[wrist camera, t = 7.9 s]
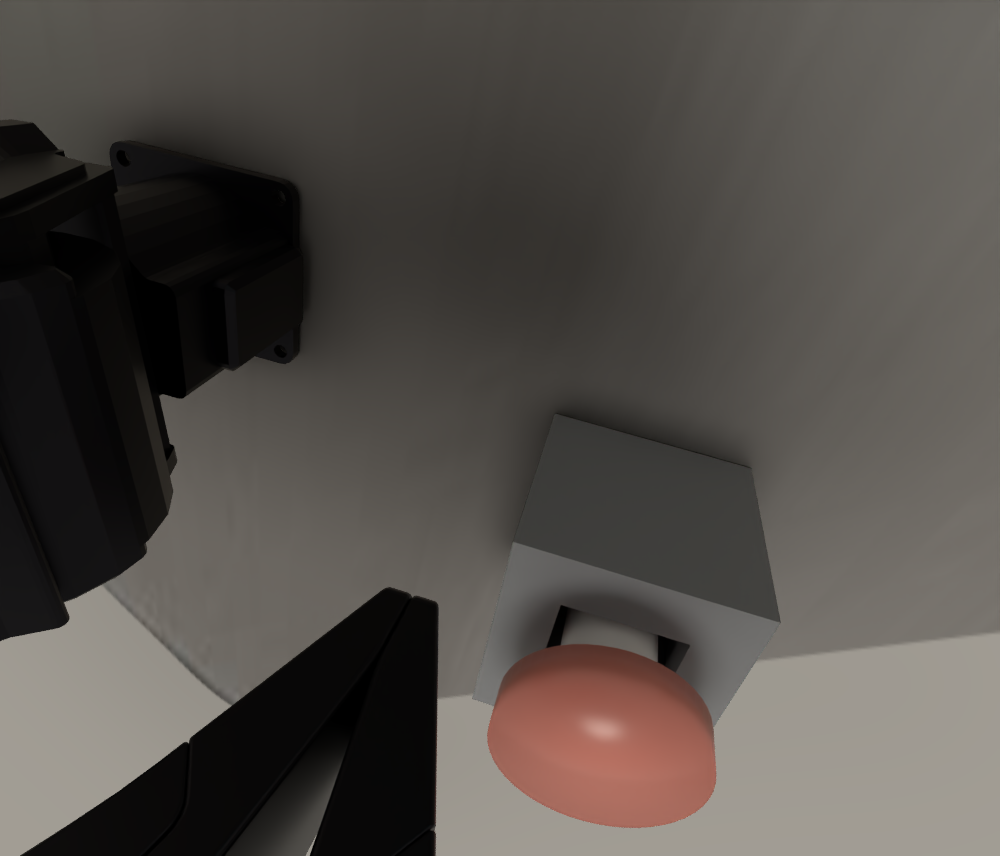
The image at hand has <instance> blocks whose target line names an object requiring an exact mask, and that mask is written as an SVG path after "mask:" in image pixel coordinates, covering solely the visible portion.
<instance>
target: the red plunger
mask: <svg viewBox="0 0 1000 856" xmlns="http://www.w3.org/2000/svg"><path fill="white" fill-rule="evenodd" d="M487 736H488V746H489V750H490V753H491V755H492V758H493V760H494V762H495V763H496V765H497V766H498V768H499V770H500V771H501V772H502V773H503V774H504V776H505V777H506V778H507V779H508V780H509V781H510V782H511V783H512V784H514V786H516V787H517V788H518V789H520V790H521V791H522V792H523V793H525V794H526V795H527V796H529V797H530V798H532V799H533V800H535V801H537V802H539V803H541V804H542V805H544V806H546V807H548V808H550V809H552V810H554V811H557V812H559V813H562V814H564V815H567V816H569V817H573V818H576V819H579V820H582V821H586V822H590V823H595V824H600V825H606V826H614V827H624V828H625V827H626V828H628V827H629V828H641V827H653V826H660V825H665V824H669V823H672V822H676V821H678V820H681V819H684V818H686V817H688V816H689V815H691V814H693V813H695V812H696V811H697V810H699V809H700V808H701V807H702V806H704V804H705V803H706V802H707V801H708V800H709V798H710V797H711V795H712V793H713V791H714V787H715V784H716V762H715V746H714V729H713V722H712V717H711V715H710V712H709V710H708V707H707V706H706V704H705V702H704V701H703V699H702V698H701V696H700V695H699V694H698V693H697V692H696V690H695V689H694V688H693V687H692V686H691V685H690V684H689V683H688V682H686V681H685V680H684V679H683V678H682V677H680V676H679V675H678V674H676V673H675V672H673V671H672V670H670V669H668V668H667V667H665V666H663V665H662V664H660V663H658V635H656V634H653V633H650V632H647V631H644V630H640V629H637V628H634V627H631V626H628V625H624V624H621V623H618V622H615V621H611V620H608V619H605V618H602V617H599V616H595V615H592V614H589V613H586V612H583V611H579V610H576V609H573V608H570V607H568V609H567V614H566V619H565V625H564V630H563V635H562V640H561V645H559V646H554V647H549V648H545V649H542V650H539V651H536V652H533V653H531V654H529V655H527V656H525V657H523V658H522V659H520V660H519V661H518V662H516V663H515V664H514V665H513V666H512V667H511V668H510V669H509V670H508V671H507V673H506V674H505V676H504V677H503V679H502V682H501V684H500V687H499V690H498V694H497V698H496V701H495V705H494V709H493V713H492V716H491V720H490V724H489V728H488V735H487Z"/></svg>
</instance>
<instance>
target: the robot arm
mask: <svg viewBox="0 0 1000 856" xmlns="http://www.w3.org/2000/svg"><path fill="white" fill-rule="evenodd" d="M125 152H126V153H127V154H128V155H129V157H130V160H131V161H130V163H129V161H128V160H127V159H126V156H125ZM110 160H111V166H112V167H109V166H104V165H97V164H91V163H85V162H82V161H78V160H75V159H71V158H67V157H65V154H64V150H59V149H58V148H57V147H56V146H55V145H54V144H53V143H52V142H51V141H50V140H49V139H48V138H47V137H46V136H45V135H44V134H43V133H42V131H41V130H40V129H39V128H38V127H37V126H36V125H35V124H34V123H31V122H24V121H18V120H1V121H0V641H1V640H4V639H7V638H10V637H15V636H20V635H25V634H30V633H35V632H41V631H46V630H50V629H55V628H60V627H62V626H63V625H65V624H66V623H67V622H68V621H69V614H68V612H67V609H66V607H65V604H64V602H66V601H69V600H72V599H75V598H77V597H79V596H81V595H83V594H84V593H87V592H88V591H90V590H92V589H94V588H96V587H98V586H100V585H102V584H104V583H106V582H108V581H110V580H112V579H114V578H116V577H117V576H119V575H120V574H121V573H123V572H124V571H125V570H127V569H128V568H129V567H131V566H132V565H133V564H135V563H136V562H137V561H139V560H140V559H142V558H143V557H144V555H145V554H146V553H147V547H146V542H147V541H148V540H149V539H150V538H151V536H152V535H153V534H154V532H155V531H156V530H157V528H158V527H159V526H160V524H161V523H162V522H163V520H164V519H165V518H166V516H167V515H168V512H169V508H170V503H171V499H172V495H173V488H172V484H171V479H170V475H171V473H172V471H173V469H174V467H175V465H176V463H177V458H176V453H175V449H174V446H173V445H171V444H170V443H169V438H168V434H167V429H166V425H165V420H164V416H163V411H162V407H161V402H160V398H159V396H160V395H162V394H165V395H168V396H172V397H175V398H182V399H183V398H184V397H185V396H187V395H188V394H190V393H191V392H192V391H194V390H195V389H197V388H198V387H200V386H201V385H202V384H204V383H205V382H207V381H208V380H210V379H211V378H212V377H214V376H215V375H217V374H218V373H219V372H221V371H222V370H224V369H228V370H231V371H234V370H236V369H237V368H239V367H240V366H242V365H243V364H244V363H246V362H247V361H249V360H250V359H251V358H253V357H254V356H256V357H260V358H263V359H267V360H270V361H274V362H277V363H282V364H286V363H289V362H291V361H292V360H293V359H294V358H295V357H296V356H297V355H298V351H299V324H300V323H301V322H302V320H303V255H302V254H301V252H300V250H299V196H298V192H297V190H296V188H295V187H294V186H293V185H292V184H291V183H290V182H289V181H286V180H284V179H280V178H276V177H272V176H268V175H264V174H260V173H256V172H252V171H248V170H244V169H240V168H236V167H232V166H229V165H225V164H221V163H217V162H213V161H209V160H205V159H201V158H197V157H193V156H189V155H185V154H181V153H177V152H173V151H169V150H165V149H161V148H157V147H153V146H149V145H145V144H141V143H137V142H133V141H119V142H115V143H114V144H112V146H111V148H110ZM278 190H280V191H282V193H283V194H284V195H285V199H286V201H285V204H284V203H282V202H281V201H280V200H279V198H278V194H277V193H278ZM280 345H281V346H283V347H284V348H285V349H286V351H287V353H285V352H283V351H282V350H281V348H280ZM438 613H439V609H438V604H437V602H435V601H432V600H429V599H426V598H423V597H420V596H414V597H413V598H412V596H411V595H410V594H409V593H407V592H404V591H401V590H398V589H395V588H391V587H388V588H385V589H383V590H382V591H380V592H379V593H378V594H376V595H375V596H374V597H373V598H371V599H370V600H369V601H367V602H366V603H365V604H363V605H362V606H361V607H360V608H358V609H357V610H356V611H354V612H353V613H352V614H350V615H349V616H348V617H347V618H345V619H344V620H343V621H341V622H340V623H339V624H337V625H336V626H335V627H334V628H332V629H331V630H330V631H328V632H327V633H326V634H324V635H323V636H322V637H321V638H319V639H318V640H317V641H315V642H314V643H313V644H311V645H310V646H309V647H308V648H306V649H305V650H304V651H302V652H301V653H300V654H298V655H297V656H296V657H295V658H293V659H292V660H291V661H289V662H288V663H287V664H286V665H284V666H283V667H282V668H280V669H279V670H278V671H276V672H275V673H274V674H273V675H271V676H270V677H269V678H267V679H266V680H265V681H263V682H262V683H261V684H260V685H258V686H257V687H256V688H254V689H253V690H252V691H250V692H249V693H248V694H247V695H245V696H244V697H243V698H241V699H240V700H239V701H237V702H236V703H235V704H234V705H232V706H231V707H230V708H228V709H227V710H226V711H224V712H223V713H222V714H221V715H219V716H218V717H217V718H215V719H214V720H213V721H211V722H210V723H209V724H208V725H206V726H205V727H204V728H203V729H201V730H200V731H199V732H197V733H196V734H195V735H193V736H192V737H191V738H190V740H189V743H187V742H184V743H183V744H181V745H180V746H179V747H177V748H176V749H175V750H173V751H172V752H171V753H170V754H168V755H167V756H166V757H164V758H163V759H162V760H161V761H159V762H158V763H157V764H155V765H154V766H152V767H151V768H150V769H148V770H147V771H146V772H144V773H143V774H142V775H140V776H139V777H137V778H136V779H135V780H133V781H132V782H131V783H129V784H128V785H127V786H125V787H124V788H123V789H121V790H120V791H119V792H117V793H115V794H114V795H113V796H111V797H109V798H108V799H106V800H105V801H104V802H102V803H100V804H99V805H97V806H96V807H94V808H93V809H92V810H90V811H88V812H87V813H85V814H84V815H83V816H81V817H79V818H78V819H77V820H75V821H73V822H72V823H70V824H69V825H67V826H66V827H64V828H63V829H61V830H59V831H58V832H57V833H55V834H54V835H52V836H50V837H49V838H47V839H46V840H44V841H43V842H41V843H39V844H38V845H36V846H35V847H33V848H31V849H30V850H28V851H27V852H25V853H24V854H22V855H20V856H305V855H306V853H307V852H308V849H309V848H310V846H311V844H312V842H313V840H314V838H315V836H316V834H317V836H316V839H315V842H314V845H313V848H312V851H311V853H310V856H435V854H436V852H435V851H436V850H435V849H436V834H435V832H434V830H435V826H436V762H437V760H436V759H437V688H438Z"/></svg>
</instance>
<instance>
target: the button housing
mask: <svg viewBox="0 0 1000 856" xmlns="http://www.w3.org/2000/svg"><path fill="white" fill-rule="evenodd" d="M568 607H570V608H573V609H576V610H579V611H583V612H586V613H589V614H592V615H595V616H599V617H602V618H605V619H608V620H611V621H615V622H618V623H621V624H624V625H628V626H631V627H634V628H637V629H640V630H644V631H647V632H650V633H653V634H656V635H658V663H660V664H662V665H663V666H665V667H667V668H668V669H670V670H672V671H673V672H675V673H676V674H678V675H679V676H680V677H682V678H683V679H684V680H685V681H686V682H688V683H689V684H690V685H691V686H692V687H693V688H694V689H695V690H696V692H697V693H698V694H699V695H700V696H701V698H702V699H703V701H704V702H705V704H706V706H707V707H708V710H709V712H710V715H711V717H712V722H713V727H714V726H715V724H716V723H717V721H718V720H719V718H720V717H721V715H722V713H723V712H724V710H725V709H726V707H727V706H728V704H729V703H730V701H731V699H732V698H733V696H734V695H735V693H736V692H737V690H738V689H739V687H740V685H741V684H742V682H743V681H744V679H745V678H746V676H747V675H748V673H749V672H750V670H751V668H752V667H753V665H754V664H755V662H756V661H757V659H758V658H759V656H760V654H761V653H762V651H763V650H764V648H765V647H766V645H767V644H768V642H769V640H770V639H771V637H772V636H773V634H774V633H775V631H776V630H777V628H778V627H779V625H780V623H781V622H780V616H779V611H778V606H777V601H776V595H775V590H774V585H773V580H772V575H771V569H770V564H769V559H768V554H767V549H766V543H765V538H764V533H763V528H762V522H761V517H760V512H759V507H758V502H757V496H756V491H755V486H754V481H753V475H752V470H751V468H748V467H745V466H741V465H737V464H734V463H730V462H727V461H723V460H720V459H716V458H712V457H709V456H705V455H702V454H698V453H695V452H691V451H687V450H684V449H680V448H677V447H673V446H670V445H666V444H662V443H659V442H655V441H652V440H648V439H644V438H641V437H637V436H634V435H630V434H627V433H623V432H619V431H616V430H612V429H609V428H605V427H602V426H598V425H594V424H591V423H587V422H584V421H580V420H577V419H573V418H569V417H566V416H562V415H559V414H554V418H553V421H552V424H551V427H550V430H549V433H548V436H547V439H546V442H545V445H544V448H543V451H542V454H541V457H540V461H539V464H538V467H537V470H536V473H535V476H534V479H533V482H532V485H531V488H530V491H529V494H528V497H527V500H526V503H525V507H524V510H523V513H522V516H521V519H520V522H519V525H518V528H517V531H516V534H515V537H514V540H513V544H512V548H511V551H510V555H509V559H508V563H507V567H506V571H505V574H504V578H503V582H502V586H501V590H500V594H499V597H498V601H497V605H496V609H495V613H494V617H493V621H492V624H491V628H490V632H489V636H488V640H487V644H486V647H485V651H484V655H483V659H482V663H481V667H480V670H479V674H478V678H477V682H476V686H475V690H474V693H473V697H472V699H474V700H478V701H481V702H483V703H487V704H489V705H492V706H494V705H495V701H496V698H497V694H498V690H499V687H500V684H501V682H502V679H503V677H504V676H505V674H506V673H507V671H508V670H509V669H510V668H511V667H512V666H513V665H514V664H515V663H516V662H518V661H519V660H520V659H522V658H523V657H525V656H527V655H529V654H531V653H533V652H536V651H539V650H542V649H545V648H549V647H554V646H559V645H561V640H562V635H563V630H564V625H565V619H566V614H567V609H568Z"/></svg>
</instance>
